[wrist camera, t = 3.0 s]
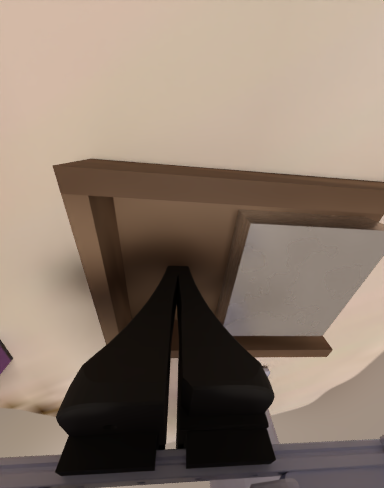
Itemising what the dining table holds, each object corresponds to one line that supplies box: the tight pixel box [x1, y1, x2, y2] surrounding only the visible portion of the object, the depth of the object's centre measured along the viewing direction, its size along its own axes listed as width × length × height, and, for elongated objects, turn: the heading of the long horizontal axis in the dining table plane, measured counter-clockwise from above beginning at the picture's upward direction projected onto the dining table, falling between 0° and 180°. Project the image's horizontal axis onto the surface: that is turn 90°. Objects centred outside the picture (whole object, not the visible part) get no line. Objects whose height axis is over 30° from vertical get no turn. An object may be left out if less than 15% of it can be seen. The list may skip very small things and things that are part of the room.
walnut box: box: [53, 159, 384, 358], centre depth 11 cm, size 13×17×3 cm
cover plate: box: [216, 209, 384, 336], centre depth 12 cm, size 9×8×2 cm
